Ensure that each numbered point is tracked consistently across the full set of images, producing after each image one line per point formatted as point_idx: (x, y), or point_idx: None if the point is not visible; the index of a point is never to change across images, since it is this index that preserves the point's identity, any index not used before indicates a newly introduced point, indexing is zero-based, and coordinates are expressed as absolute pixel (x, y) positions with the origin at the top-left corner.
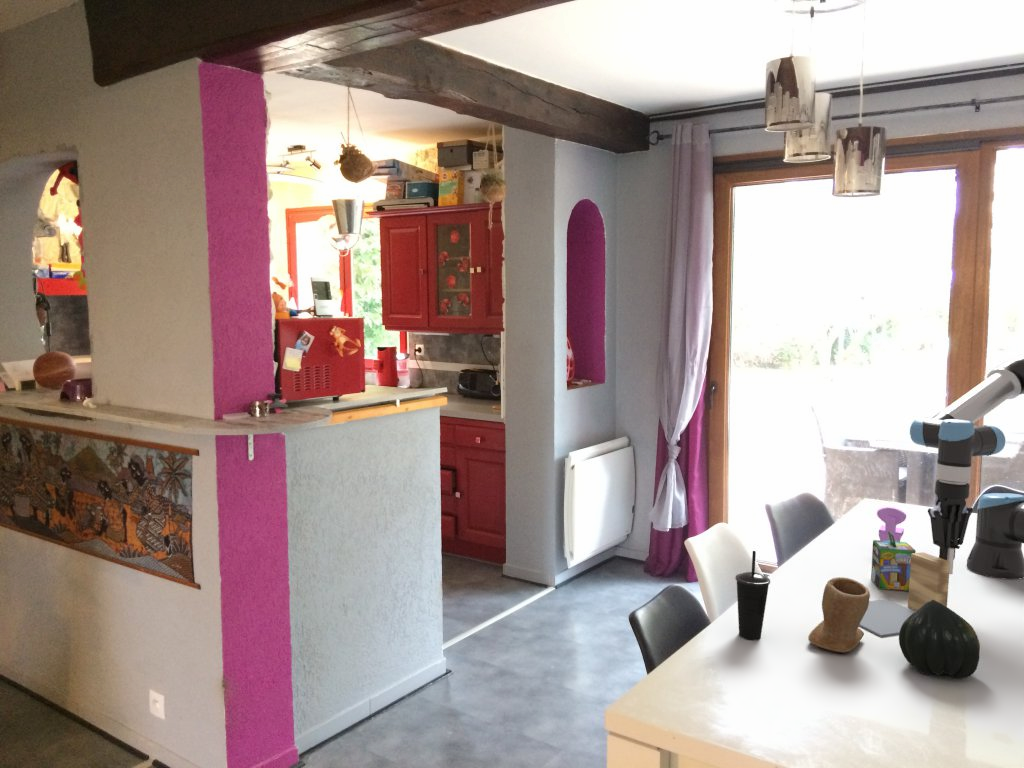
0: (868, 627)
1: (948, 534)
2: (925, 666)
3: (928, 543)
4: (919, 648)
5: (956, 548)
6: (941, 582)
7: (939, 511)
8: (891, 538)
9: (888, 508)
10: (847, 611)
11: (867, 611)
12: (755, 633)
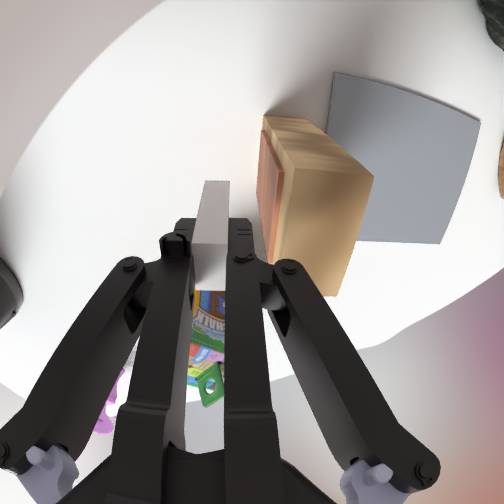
0: (470, 153)
1: (249, 320)
2: None
3: (39, 361)
4: None
5: (184, 237)
6: (315, 143)
7: (364, 495)
8: (204, 388)
9: (99, 432)
10: None
11: (409, 203)
12: None
